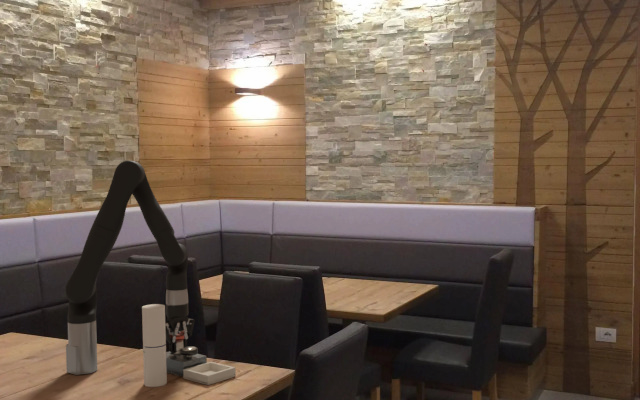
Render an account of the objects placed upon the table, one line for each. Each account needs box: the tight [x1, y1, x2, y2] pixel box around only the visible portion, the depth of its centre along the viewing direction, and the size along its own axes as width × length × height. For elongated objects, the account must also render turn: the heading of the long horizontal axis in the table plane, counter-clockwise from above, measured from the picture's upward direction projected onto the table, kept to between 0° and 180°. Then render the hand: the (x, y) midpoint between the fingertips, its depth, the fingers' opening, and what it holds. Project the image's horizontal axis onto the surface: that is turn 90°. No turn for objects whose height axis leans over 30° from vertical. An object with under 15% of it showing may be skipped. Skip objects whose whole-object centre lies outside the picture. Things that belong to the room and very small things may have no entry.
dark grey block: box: [166, 346, 208, 378], centre depth 251 cm, size 10×15×8 cm, turn 50°
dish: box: [183, 361, 237, 386], centre depth 242 cm, size 12×12×3 cm
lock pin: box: [173, 333, 185, 356], centre depth 254 cm, size 4×4×11 cm
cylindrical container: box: [141, 303, 168, 388], centre depth 235 cm, size 7×7×25 cm
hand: (178, 351), depth 254 cm, fingers closed on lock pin, 4 cm apart
